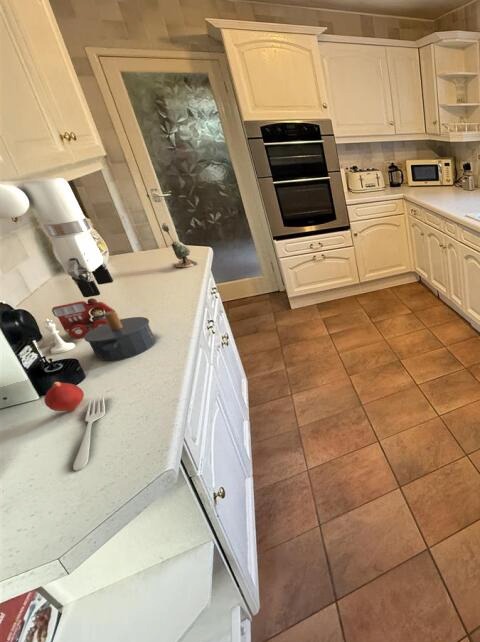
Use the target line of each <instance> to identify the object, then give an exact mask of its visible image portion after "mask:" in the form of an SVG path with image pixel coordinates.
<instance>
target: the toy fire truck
mask: <svg viewBox="0 0 480 642" xmlns="http://www.w3.org/2000/svg"><path fill="white" fill-rule="evenodd" d="M109 311H116V310H115V309H114V308H112V307H110V306H109V305H107V304H106V303H104V302H102V301H98V300H97V299H96V298H94V297H90V298H88V299H87V302H86V301H84V300H82V301H81V300H80V301H76V302H71V303H66V304H61V305H57V306H54V307H52V309H51V313H52V314H53V316H54V317H56V318H57V319H58V320H59V322H60V325H61V326H62V328H63V330H64V331H65V333H67V334H69V336H70V337H71V338H74V339H82V338H84V336H85V335H86V334H87V333H88V332H89V331H90V330H89V329H92V330H93V329H94V328H97V327H99V326H101V325H104V324H107V323H108V322H107V320H106V318H105V316H104V313H106V312H109Z"/></svg>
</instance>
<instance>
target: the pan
mask: <svg viewBox="0 0 480 642" xmlns="http://www.w3.org/2000/svg"><path fill="white" fill-rule="evenodd" d="M149 324H150V323H149ZM149 324H148V325H147V326H146V327H145V328H143V329H141V330H140V331H138V332H135V333H133V334H131V335H128V336H125V337H122V338H119V339H115V340H110V341H105V342H88V343H89V346H90V347H91V349H92V351H93V353H94V354H95V356H96V358H97V360H98V361H100V362H107V363H108V362H109V363H110V362H116V361H123V360H125V359H129V358H132V357H135V356H138V355H140V354H142V353H144V352H146V351H148V350H149V349H151V348H152V347H154V346H155V344H156V338H155V336H154V334H153V331H152V329H151V327H150V325H149Z"/></svg>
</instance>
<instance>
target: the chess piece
mask: <svg viewBox="0 0 480 642" xmlns="http://www.w3.org/2000/svg"><path fill="white" fill-rule="evenodd" d="M52 322H53V320H52V319H51V320H49V319H48V318H45V319H44V321H42V324H46V325H44V328H45V329H46V330H48V331H49V332H48V335H49V336H52V338H53V340H54V344H55V345H54V346H53V347H52V348H51V349H50V354H52V355H56V354H58V355H59V354H62V353H65V352H68V351H71V350H73V349H74V348H75V347H76V344H75V343H74V342H66V341H64V340H63V339H62V338H61V336H60V335H59V333H60V330H57V329H56V324H55V323H52Z"/></svg>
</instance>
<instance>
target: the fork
mask: <svg viewBox="0 0 480 642" xmlns="http://www.w3.org/2000/svg"><path fill="white" fill-rule="evenodd" d="M100 400H101V401H100ZM100 402H101V403H100ZM105 406H106V405H105V397H104V395H102V396H101V399H100V397H99V396H98V397H97V405H96V398H93V401H92V407H91V399H89V400H88V404H87V411H86V415H85V418H84V421H85V422H86V423H87V425H86V429H85V432H84V434H83V435H84V436H83V439H82V441H81V444H80V446H79V449H78V452H77V454H76V456H75V460H74V462H73V465H72V469H73V470H74V471H76V472H77V471H80V470H82V469H84V467H86V465H87V464H88V461H89V455H90V444H91V430H92V424H93V423H94V422H95V421H97V420H100V419H101V418H102V417H104V416H105V413H106V407H105ZM90 411H91V413H90ZM95 411H96V413H95Z"/></svg>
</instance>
